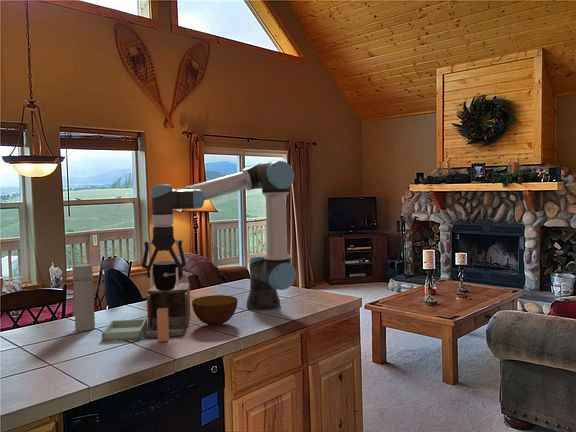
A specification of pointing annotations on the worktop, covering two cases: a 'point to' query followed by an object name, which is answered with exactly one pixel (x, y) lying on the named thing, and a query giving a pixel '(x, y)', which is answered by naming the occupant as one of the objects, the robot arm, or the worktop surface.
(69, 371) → the worktop surface
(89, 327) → the water bottle
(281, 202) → the robot arm
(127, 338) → the tray
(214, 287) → the worktop surface
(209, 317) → the bowl
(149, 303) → the bay
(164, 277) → the mug
